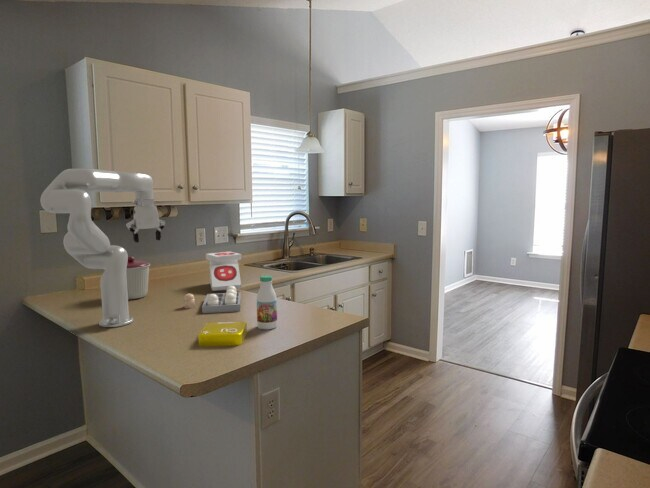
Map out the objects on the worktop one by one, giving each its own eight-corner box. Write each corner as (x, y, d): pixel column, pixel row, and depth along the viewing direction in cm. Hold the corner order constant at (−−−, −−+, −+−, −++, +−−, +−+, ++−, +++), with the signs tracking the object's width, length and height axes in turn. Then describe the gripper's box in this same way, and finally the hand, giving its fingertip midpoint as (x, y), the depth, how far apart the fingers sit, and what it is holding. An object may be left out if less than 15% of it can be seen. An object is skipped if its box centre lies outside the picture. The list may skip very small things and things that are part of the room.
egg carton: (240, 311, 187) (239, 294, 186) (202, 313, 184) (201, 296, 183) (241, 298, 210) (240, 283, 209) (207, 299, 207) (206, 285, 206)
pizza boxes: (208, 294, 219) (207, 260, 217) (206, 283, 247) (205, 252, 245) (246, 291, 224) (244, 258, 222) (239, 280, 253) (238, 250, 251)
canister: (159, 294, 221) (157, 254, 218) (135, 302, 203) (132, 259, 201) (130, 292, 225) (128, 253, 223) (104, 300, 208) (101, 258, 206)
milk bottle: (255, 325, 166) (254, 275, 164) (274, 322, 169) (273, 273, 167) (259, 331, 159) (258, 279, 157) (279, 328, 162) (278, 277, 159)
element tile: (247, 332, 159) (247, 320, 159) (241, 346, 144) (241, 333, 144) (207, 333, 159) (207, 320, 158) (197, 347, 144) (196, 334, 143)
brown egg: (194, 308, 192) (193, 294, 192) (183, 308, 192) (182, 295, 191) (195, 305, 197) (194, 292, 196) (184, 306, 196) (184, 292, 196)
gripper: (127, 204, 181) (131, 243, 183) (167, 202, 192) (169, 239, 195) (121, 203, 186) (124, 242, 188) (160, 202, 198) (162, 238, 200)
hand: (147, 241), depth 191 cm, fingers open, 9 cm apart
